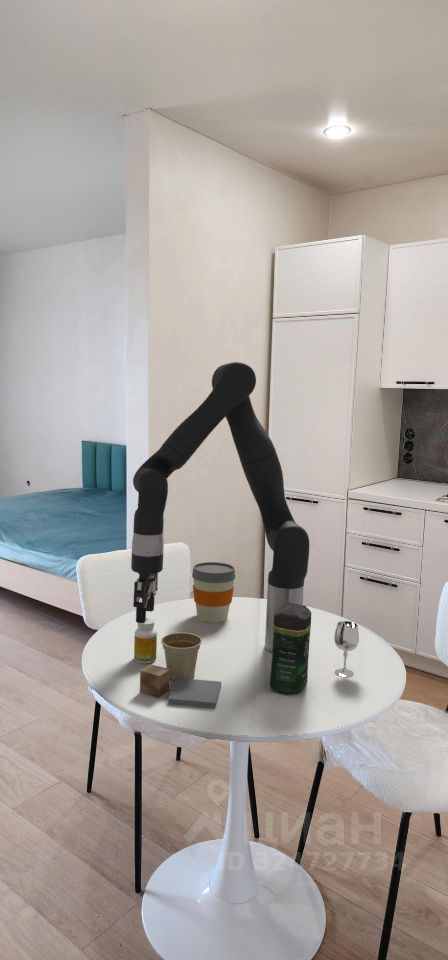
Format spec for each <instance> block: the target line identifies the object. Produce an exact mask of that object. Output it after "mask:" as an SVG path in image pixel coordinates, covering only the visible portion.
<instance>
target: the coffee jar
mask: <svg viewBox="0 0 448 960" xmlns="http://www.w3.org/2000/svg"><path fill="white" fill-rule="evenodd" d="M311 628H312V612H311V609H310V608H309V607H307V605H304V604H303V605H299V604H294V603H289V604H287V605H285V606H283V607H281V608H280V609H278V610H277V612H276V613H275V615H274V623H273V648H272V652H271V664H270V665H271V666H270V675H269V676H270V677H269V688H270V689H271V690H273V691H274V692H277V693H279V694H282V695H284V696H285V695H286V696H288V695H300V694H301V693H302V692H303V691H304V690H305V688H306V687H307V685H308V675H309V674H308V672H309V656H310V655H309V654H310V653H309V652H310V639H311V638H310V637H311Z"/></svg>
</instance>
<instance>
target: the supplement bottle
mask: <svg viewBox="0 0 448 960" xmlns="http://www.w3.org/2000/svg"><path fill="white" fill-rule="evenodd" d="M157 639H158V632H157V630H156V628H155V621H154V619H152V618H147V617H146V621H145V623H137V628H136V629H135V630H134V640H133V641H134V643H133V644H134V645H133V646H134V649H133V659H134V662H136V663H139V664H152V663H154V662H155V661H156V660H157V650H158V649H157V647H158V646H157V645H158V644H157V643H158V642H157V641H158V640H157Z"/></svg>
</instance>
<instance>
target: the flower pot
mask: <svg viewBox="0 0 448 960" xmlns="http://www.w3.org/2000/svg"><path fill="white" fill-rule="evenodd" d="M160 643H161V645H162V648H163V650H164V658H165V666H166V667H165V668H167V669H170V679H171V680H173V681H175V682H176V679H177V678H185V679H194V677H195V672H196V665H197V660H198V654H199V650H200V647H201V645H202V643H203V639H202V638H201V636H199V635H197V634H194V633H191V632H172V633H169V634H166V635H163V636H162V637H161V639H160Z"/></svg>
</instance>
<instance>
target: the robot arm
mask: <svg viewBox="0 0 448 960" xmlns="http://www.w3.org/2000/svg"><path fill="white" fill-rule="evenodd" d="M256 383H257V377H256V374H255V371H254V369H253V368H252V367H251V366H250V365H249V364H247V363H245V362H241V361H233V362H228V363H224V364H221V365H220V366H218V367H217V368H216V369H215V370H214V372H213V374H212V378H211V387H212V390H211V392H210V393H209V394H208V396H207V397H206V398H205V400H203V402H202V403H201V404H200V405H199V406H198V407H197V408H196V409H195V410H193V412H191V414H190V415H188V417H186V418H185V419H184V420H183V421H181V423H180V424H179V425H178V426H177V427H176V428H175V429H174V430H173V431H172V433H171V434H170V435H169V436H168V437H167V439H166V440H165V441H164V442H163V443H162V445H161V446H160V447H159V448H158V450H157V451H155V453H153V454H152V455H151V456H150V457H149V458H148V459H147V460H145V462H143V463H142V464H141V466H140V467H139V468H137V470H136V471H135V474H134V476H133V478H132V483H133V484H132V485H133V487H134V489H135V491H136V492H137V495H138V499H137V508H136V509H135V511H134V515H133V533H132V540H131V541H132V542H131V557H130V558H131V561H130V563H131V564H130V569H131V571H133V572H134V573H137V574H138V578H137V579H136V581H134V583H133V585H134V586H133V587H134V588H133V602H132V607H133V608H136V609H135V612H136V613H135V622H136V623H137V624H138V623H145V621H146V618H147V612H151V613H152V612H154V610H155V596H156V595H157V591H158V583H159V582H158V580H159V579H158V577H159V573H160V572H162V571H163V569H164V549H165V547H164V545H165V542H164V541H165V540H164V523H165V521H164V520H165V519H164V515H165V510H166V505H167V501H168V492H169V482H168V478H169V477H170V476H171V475H172V474H173V473H174V472H175V471H177V470H180V469H181V468H183V466H185V465H186V464H187V462H188V461H189V460H190V458H192V456H193V455H194V454H195V453H196V452H197V450H198V448H199V447H201V445H202V444H203V443H204V442H205V440H206V439H207V438H208V437H209V436H210V434H212V432H213V431H214V430H215V428H216V427H217V426H218V425H219V424H220V423H221V422H223V420H224V419H226V421H227V424H228V427H229V429H230V433H231V436H232V441H233V442H234V446H235V448H236V453H237V455H238V458H239V462H240V464H241V467H242V470H243V473H244V476H245V479H246V480H247V481H246V482H247V483H248V487H249V489H250V491H251V493H252V496H253V498H254V501H255V503H256V504H257V506H258V508H259V509H258V510H259V512H260V517H261V519H262V525H263V528H264V532H265V533H264V534H265V537H266V541H267V544H268V546H269V548H270V549H271V550H272V551H273V555H272V557H273V558H272V566H271V570H270V571H268V575H267V593H266V596H267V597H266V612H265V613H266V617H265V635H264V636H265V637H264V648H265V650H267V651H268V652H270V653H272V648H273V623H274V615H275V613H276V612H277V610H278V609H280V608H281V607H283V606H285V605H287V604H289V603H294V604H299V605H304V592H305V591H304V590H305V588H304V587H305V579H306V577H307V574H308V568H309V567H308V566H309V557H310V538H309V534H308V532H307V531H306V529H304V528H303V527H302V526H300V525H299V524H297V522H296V521H295V519H294V517H293V515H292V513H291V510H290V509H289V505H288V502H287V499H286V496H285V487H284V485H285V484H284V474H283V470H282V465H281V462H280V460H279V456H278V453H277V451H276V448H275V446H274V443H273V441H272V439H271V438H270V436H269V434H268V432H267V431H266V430H265V428H264V426H263V425H262V423H261V422H260V421H259V419H258V417H257V415H256V414H255V410H254V408H253V405H252V404H253V403H252V401H251V397H250V395H252V393H254V389H255V387H256V385H257V384H256ZM140 599H141V601H140Z"/></svg>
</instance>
